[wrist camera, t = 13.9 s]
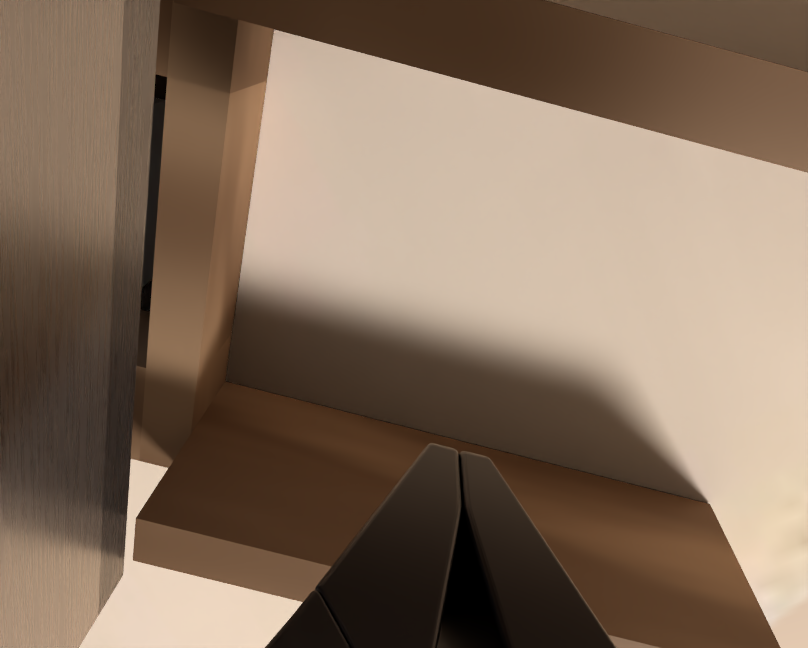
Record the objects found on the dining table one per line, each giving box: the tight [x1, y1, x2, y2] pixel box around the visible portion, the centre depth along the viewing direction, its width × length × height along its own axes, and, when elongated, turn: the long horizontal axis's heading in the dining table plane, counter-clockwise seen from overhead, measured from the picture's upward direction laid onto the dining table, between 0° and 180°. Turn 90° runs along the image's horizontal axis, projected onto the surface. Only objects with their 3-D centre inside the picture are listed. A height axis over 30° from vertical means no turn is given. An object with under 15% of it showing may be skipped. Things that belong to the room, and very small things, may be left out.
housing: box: [131, 0, 808, 648], centre depth 13 cm, size 12×31×5 cm, turn 76°
